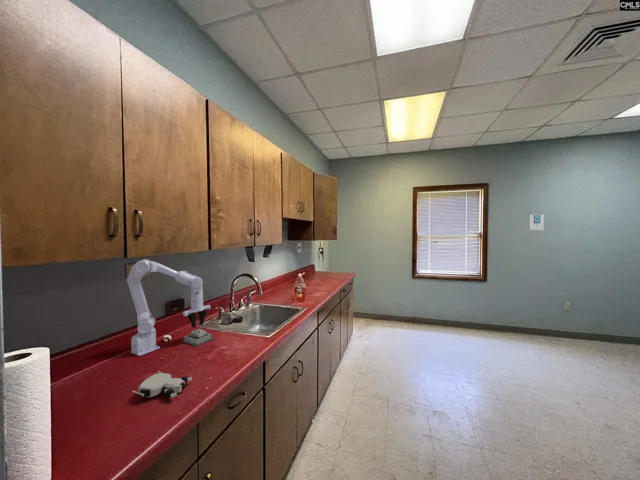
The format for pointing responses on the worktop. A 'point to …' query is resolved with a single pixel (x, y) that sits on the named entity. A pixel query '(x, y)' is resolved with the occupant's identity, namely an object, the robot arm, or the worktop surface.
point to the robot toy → (162, 385)
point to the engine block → (198, 334)
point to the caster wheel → (231, 318)
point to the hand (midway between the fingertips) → (197, 325)
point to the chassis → (197, 340)
